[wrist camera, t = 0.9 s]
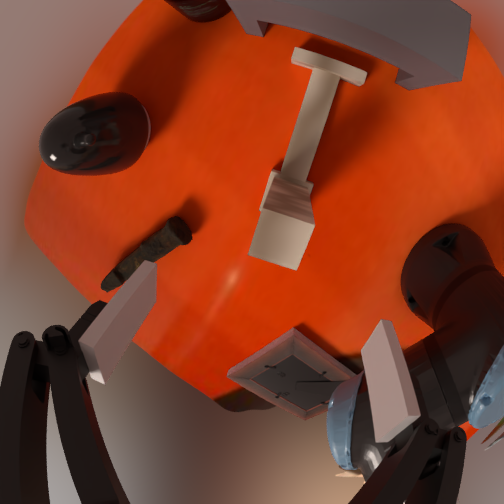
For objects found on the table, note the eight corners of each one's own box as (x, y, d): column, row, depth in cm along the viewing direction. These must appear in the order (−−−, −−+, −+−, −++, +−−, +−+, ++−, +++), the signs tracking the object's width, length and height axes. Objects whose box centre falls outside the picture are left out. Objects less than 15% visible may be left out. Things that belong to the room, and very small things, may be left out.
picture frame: (367, 381, 46) (293, 324, 42) (369, 390, 44) (293, 335, 40) (305, 412, 53) (229, 367, 49) (304, 421, 51) (226, 377, 47)
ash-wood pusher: (362, 75, 25) (404, 49, 13) (310, 223, 34) (317, 282, 22) (295, 52, 25) (294, 8, 13) (248, 203, 34) (221, 252, 22)
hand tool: (180, 210, 36) (165, 222, 32) (196, 235, 37) (184, 250, 33) (102, 265, 42) (87, 279, 38) (116, 283, 44) (102, 298, 40)
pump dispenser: (163, 167, 33) (87, 202, 20) (101, 166, 34) (22, 198, 21) (166, 89, 29) (85, 80, 15) (101, 97, 30) (17, 103, 16)
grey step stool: (422, 39, 21) (471, 14, 10) (409, 90, 24) (461, 80, 14) (264, -16, 21) (249, -67, 10) (246, 33, 24) (221, -7, 14)
